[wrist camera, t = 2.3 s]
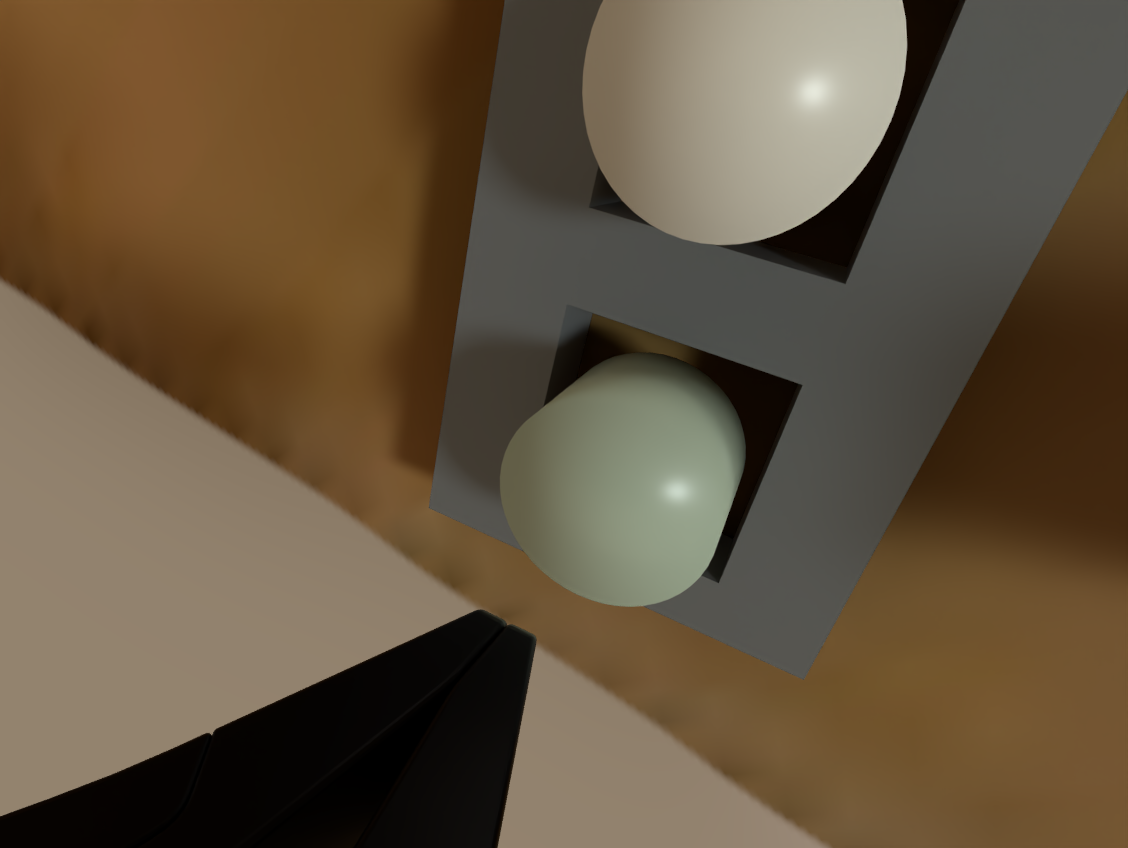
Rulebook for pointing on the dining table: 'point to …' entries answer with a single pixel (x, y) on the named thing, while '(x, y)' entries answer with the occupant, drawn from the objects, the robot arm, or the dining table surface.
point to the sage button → (625, 479)
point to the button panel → (776, 293)
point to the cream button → (739, 107)
